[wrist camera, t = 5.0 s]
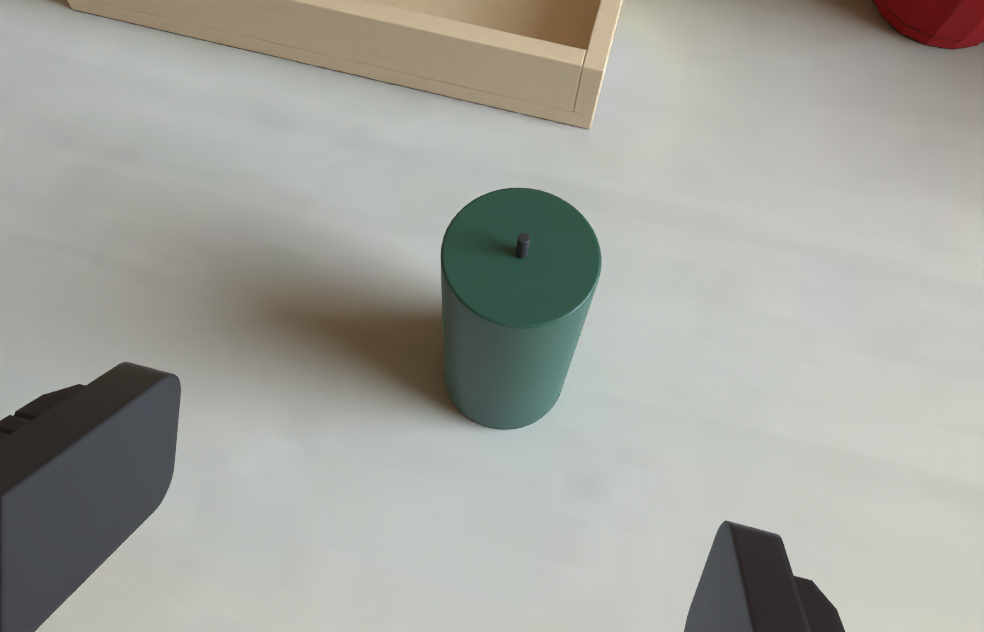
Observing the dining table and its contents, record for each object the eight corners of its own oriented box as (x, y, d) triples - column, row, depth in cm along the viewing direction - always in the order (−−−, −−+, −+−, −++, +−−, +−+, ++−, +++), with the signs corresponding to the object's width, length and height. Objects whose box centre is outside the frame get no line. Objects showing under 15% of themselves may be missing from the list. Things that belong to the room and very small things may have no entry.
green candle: (429, 412, 27) (419, 289, 19) (461, 306, 29) (464, 152, 21) (548, 443, 27) (588, 331, 19) (574, 334, 29) (620, 189, 21)
